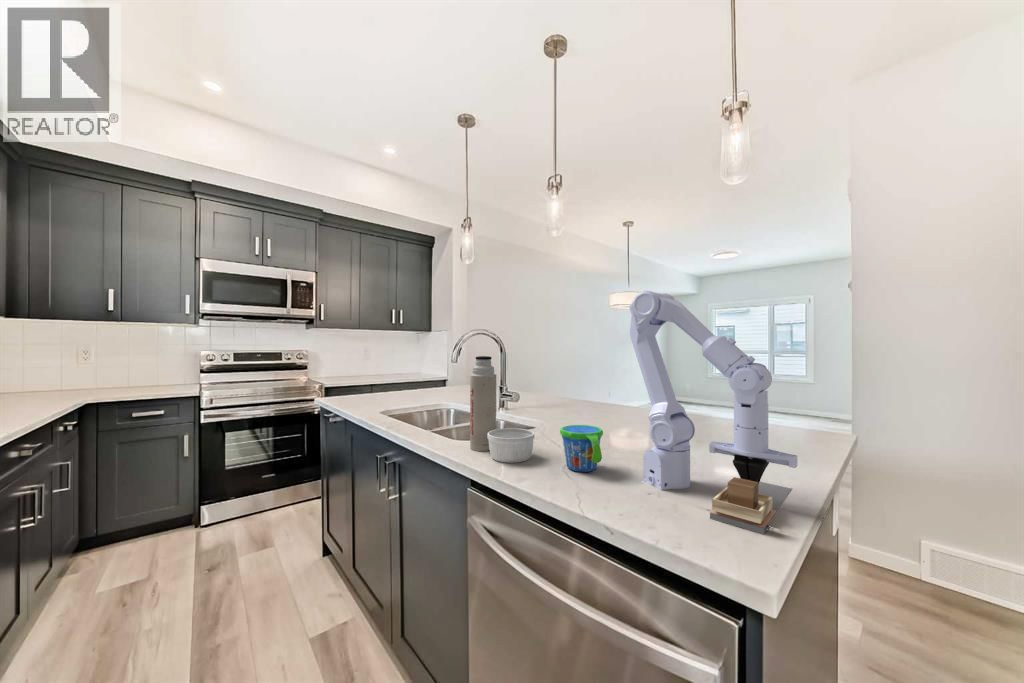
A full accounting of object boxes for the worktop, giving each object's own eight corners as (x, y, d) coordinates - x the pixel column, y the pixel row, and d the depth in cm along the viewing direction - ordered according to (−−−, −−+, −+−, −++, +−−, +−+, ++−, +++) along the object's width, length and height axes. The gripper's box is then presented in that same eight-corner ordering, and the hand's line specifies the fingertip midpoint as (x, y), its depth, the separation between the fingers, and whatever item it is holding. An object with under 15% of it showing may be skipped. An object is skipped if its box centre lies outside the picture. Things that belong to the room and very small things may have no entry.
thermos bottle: (469, 451, 116) (469, 356, 116) (470, 444, 123) (470, 355, 124) (496, 450, 116) (496, 356, 116) (495, 444, 124) (495, 355, 124)
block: (752, 510, 69) (752, 488, 69) (727, 504, 72) (727, 482, 72) (758, 504, 72) (758, 482, 72) (734, 498, 75) (734, 477, 75)
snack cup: (552, 460, 107) (552, 423, 107) (588, 458, 109) (588, 421, 109) (573, 480, 91) (573, 436, 92) (614, 477, 94) (614, 434, 94)
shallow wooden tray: (760, 526, 66) (760, 511, 66) (712, 512, 71) (712, 499, 71) (772, 510, 72) (772, 496, 72) (727, 498, 78) (727, 486, 78)
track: (763, 534, 66) (763, 528, 66) (709, 518, 72) (709, 512, 72) (792, 493, 83) (792, 488, 83) (747, 483, 89) (747, 478, 89)
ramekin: (512, 448, 119) (512, 425, 119) (544, 457, 110) (544, 432, 110) (478, 457, 110) (478, 432, 110) (509, 468, 101) (509, 441, 101)
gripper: (800, 428, 74) (800, 500, 74) (717, 418, 84) (717, 481, 84) (793, 435, 69) (793, 512, 69) (705, 423, 79) (705, 490, 79)
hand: (750, 496), depth 76 cm, fingers closed, pressing on shallow wooden tray
